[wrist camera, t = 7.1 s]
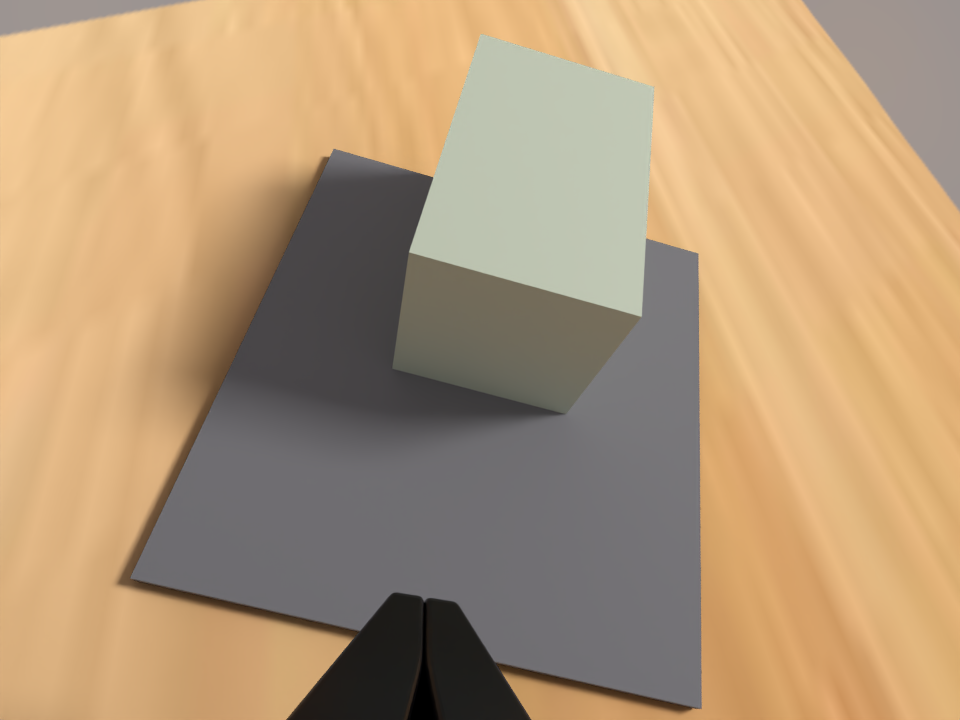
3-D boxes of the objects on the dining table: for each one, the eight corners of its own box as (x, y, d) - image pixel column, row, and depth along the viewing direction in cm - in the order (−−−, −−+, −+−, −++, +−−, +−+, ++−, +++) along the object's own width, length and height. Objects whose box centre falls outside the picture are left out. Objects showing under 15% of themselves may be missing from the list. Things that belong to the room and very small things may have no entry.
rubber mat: (694, 708, 14) (701, 708, 14) (133, 580, 13) (129, 578, 13) (693, 258, 21) (698, 253, 21) (333, 155, 20) (333, 148, 20)
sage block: (641, 317, 12) (654, 86, 17) (408, 252, 12) (481, 33, 16) (565, 414, 17) (591, 212, 21) (392, 368, 16) (452, 172, 21)
